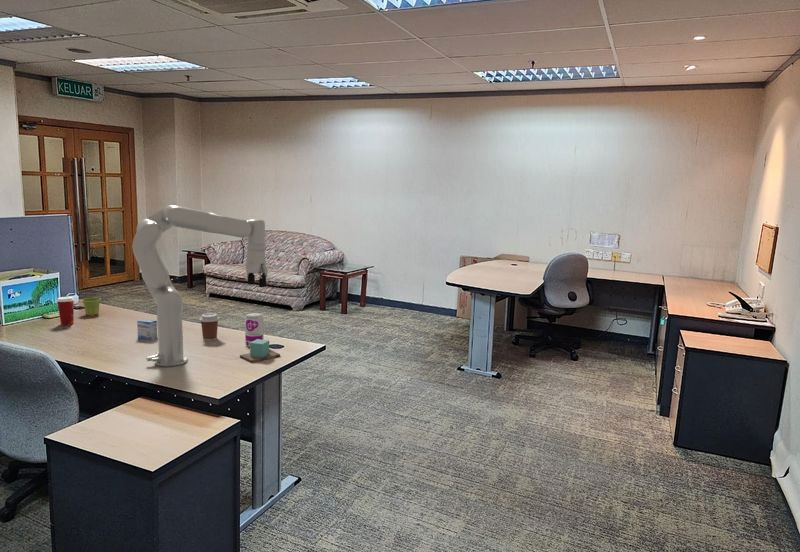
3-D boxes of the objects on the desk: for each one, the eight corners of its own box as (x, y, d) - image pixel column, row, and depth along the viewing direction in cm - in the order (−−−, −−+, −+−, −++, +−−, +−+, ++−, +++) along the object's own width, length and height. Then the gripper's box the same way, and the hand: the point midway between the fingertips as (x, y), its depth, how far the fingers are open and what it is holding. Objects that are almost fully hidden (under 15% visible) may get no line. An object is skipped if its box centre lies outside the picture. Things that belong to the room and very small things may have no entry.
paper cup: (78, 323, 281) (77, 297, 279) (63, 326, 275) (61, 299, 272) (70, 321, 285) (69, 295, 283) (55, 324, 279) (53, 297, 276)
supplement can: (258, 348, 248) (258, 317, 246) (242, 347, 250) (241, 315, 247) (266, 343, 256) (266, 313, 254) (250, 342, 258) (250, 311, 255)
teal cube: (250, 356, 234) (250, 342, 233) (257, 352, 240) (257, 339, 239) (262, 357, 232) (262, 344, 231) (269, 353, 238) (269, 340, 237)
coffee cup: (203, 342, 255) (202, 317, 253) (197, 337, 262) (196, 314, 260) (222, 339, 260) (221, 315, 258) (216, 335, 268) (215, 311, 266)
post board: (251, 362, 228) (251, 350, 227) (240, 357, 235) (239, 345, 234) (280, 356, 238) (280, 344, 237) (268, 351, 245) (268, 339, 244)
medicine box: (137, 338, 258) (136, 320, 257) (143, 335, 263) (143, 318, 261) (151, 339, 257) (150, 322, 255) (157, 337, 261) (157, 320, 260)
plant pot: (102, 315, 300) (101, 300, 298) (82, 317, 295) (81, 301, 294) (101, 311, 308) (100, 297, 306) (82, 313, 303) (81, 298, 302)
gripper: (238, 246, 241) (239, 283, 244) (259, 249, 229) (259, 289, 232) (253, 245, 246) (254, 281, 249) (274, 248, 234) (274, 287, 237)
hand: (256, 285), depth 240 cm, fingers open, 9 cm apart
